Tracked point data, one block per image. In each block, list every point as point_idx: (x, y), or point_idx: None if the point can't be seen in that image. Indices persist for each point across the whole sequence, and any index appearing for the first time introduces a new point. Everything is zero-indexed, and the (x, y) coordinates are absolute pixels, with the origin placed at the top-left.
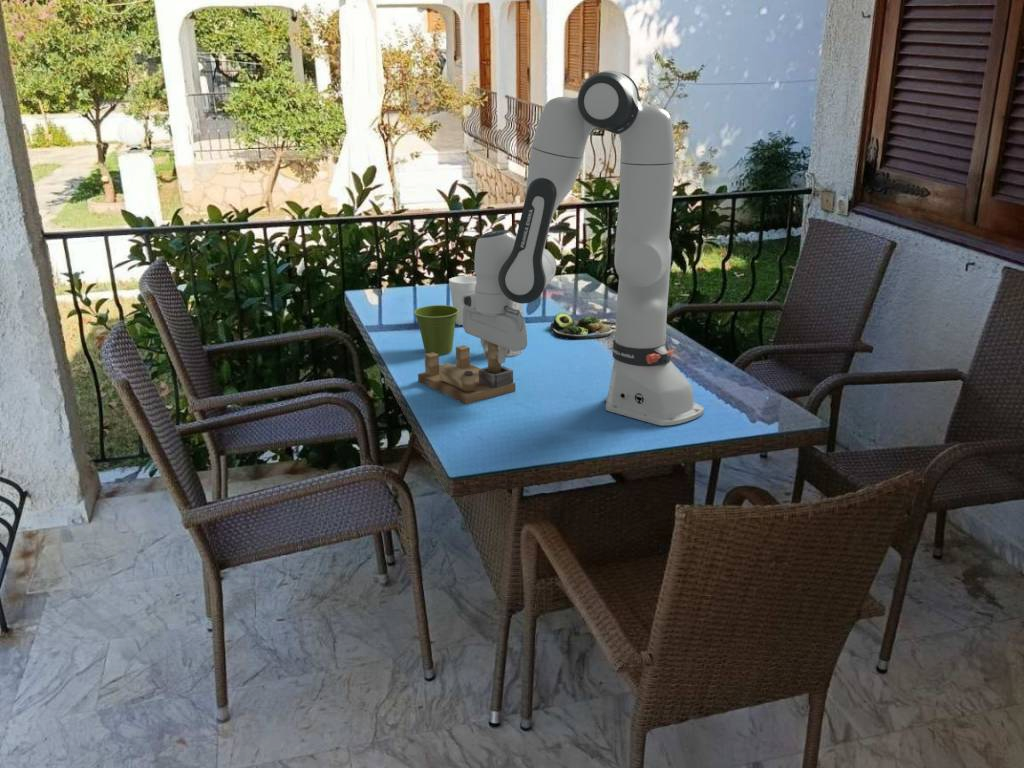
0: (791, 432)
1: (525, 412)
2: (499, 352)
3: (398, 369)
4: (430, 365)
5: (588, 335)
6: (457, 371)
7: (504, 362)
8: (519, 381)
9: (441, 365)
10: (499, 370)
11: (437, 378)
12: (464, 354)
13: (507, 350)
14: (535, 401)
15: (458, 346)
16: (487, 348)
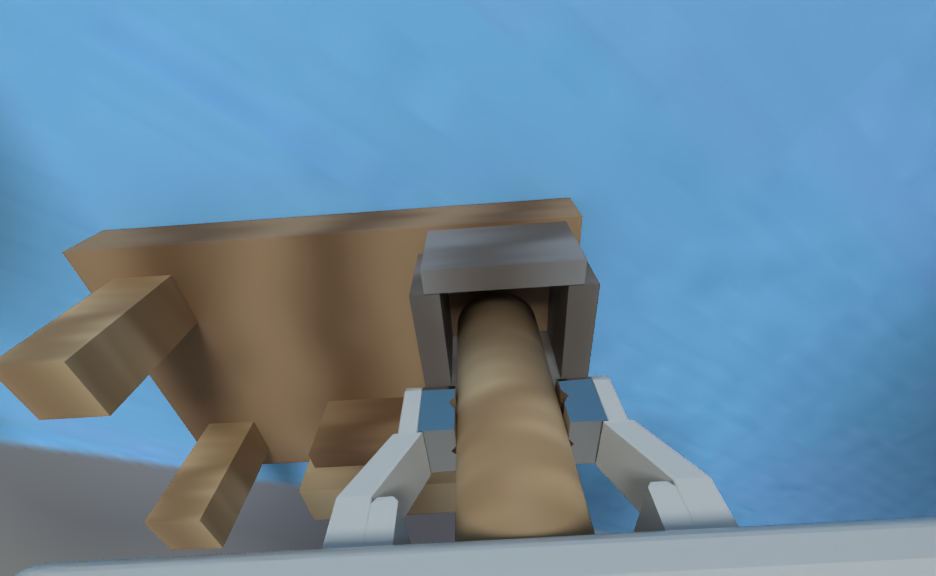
0: None
1: (802, 309)
2: (641, 503)
3: (48, 433)
4: (244, 498)
5: None
6: (451, 505)
7: (606, 378)
8: (441, 68)
9: (325, 515)
10: (540, 339)
11: (303, 442)
12: (128, 365)
13: (692, 472)
14: (764, 198)
15: (24, 404)
16: (415, 474)
